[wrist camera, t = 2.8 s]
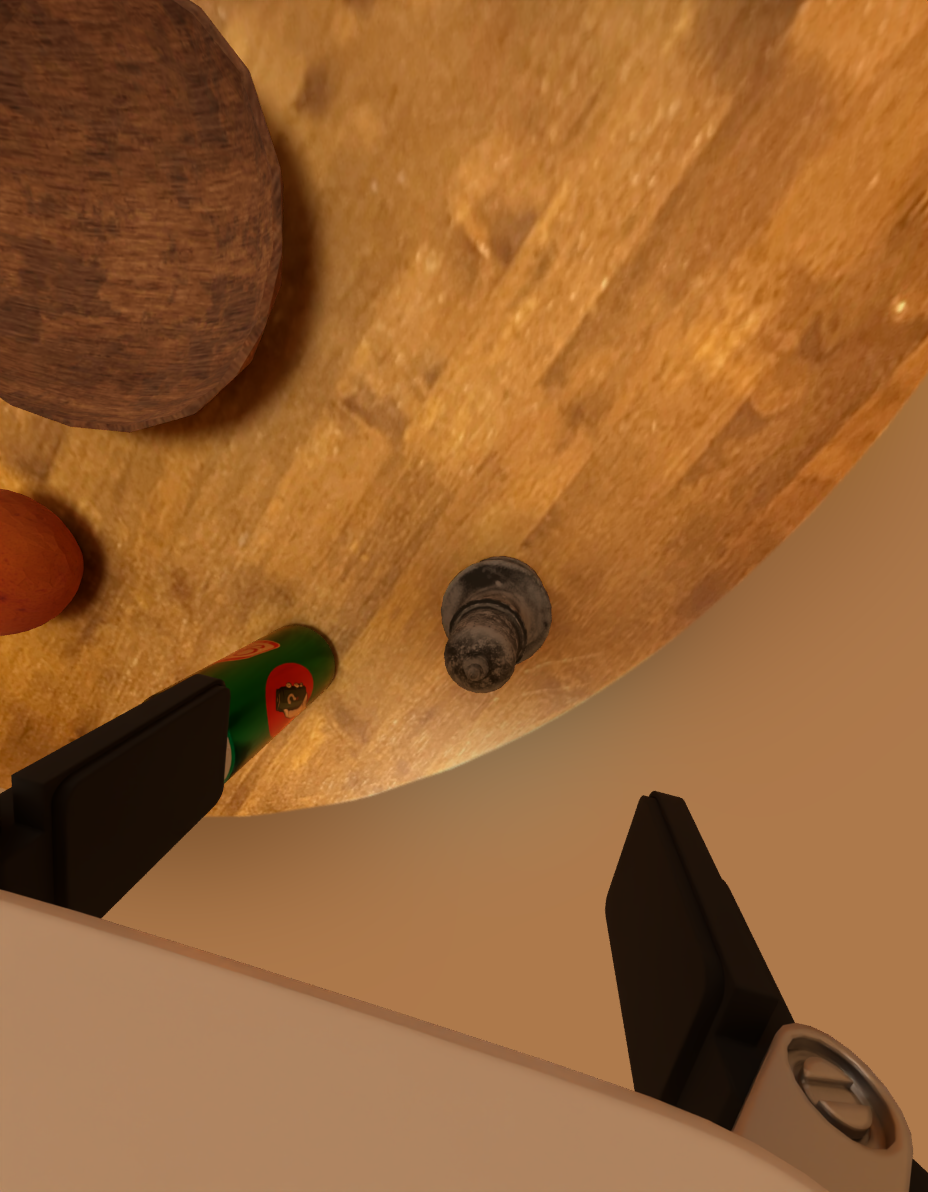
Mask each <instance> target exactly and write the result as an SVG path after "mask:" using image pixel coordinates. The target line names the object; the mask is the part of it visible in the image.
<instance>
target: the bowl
mask: <svg viewBox="0 0 928 1192" xmlns="http://www.w3.org/2000/svg"><path fill="white" fill-rule="evenodd" d="M282 232H283V181H282V175H281V169H280V165H279V162H278V159H277V156H276V153H275V150H274V146H273V143H272V140H271V137H270V134H269V131H268V128H267V125H266V122H265V118H264V115H263V112H262V109H261V106H260V103H259V100H258V97H257V93H256V90H255V87H254V84H253V81H252V78H251V75H250V72H249V70H248V68H247V67H246V66H245V65H244V63H243V62H242V61H241V59H240V58H239V57H238V55H237V54H236V53H235V52H234V50H233V49H232V48H231V46H230V45H229V44H228V42H227V41H226V40H225V38H224V37H223V36H222V35H221V33H220V32H219V31H218V29H217V28H216V27H215V25H214V24H213V23H212V22H211V20H210V19H209V18H208V16H207V15H206V14H205V12H204V11H203V10H202V8H200V7H199V6H197V5H196V4H194V3H193V2H191V1H190V0H0V398H2V399H3V400H5V401H6V402H7V403H9V404H10V405H12V406H15V407H18V408H21V409H23V410H26V411H29V412H32V413H34V414H37V415H40V416H43V417H45V418H48V419H51V420H54V421H57V422H59V423H62V424H65V425H68V426H70V427H81V428H91V429H101V430H111V431H121V432H133V431H136V430H140V429H144V428H147V427H151V426H154V425H158V424H161V423H165V422H168V421H172V420H176V419H179V418H183V417H186V416H190V415H193V414H195V413H197V412H198V411H199V410H200V409H202V408H203V407H204V406H205V405H207V404H208V403H209V402H210V401H211V400H212V399H213V398H214V397H215V396H216V395H217V394H218V393H219V392H220V391H221V390H222V389H223V388H224V387H225V386H227V385H228V384H229V383H230V382H231V381H232V380H233V379H234V378H235V377H236V376H237V375H238V374H239V373H240V372H241V371H242V370H243V369H244V368H245V367H246V366H247V365H249V364H250V363H251V362H252V359H253V357H254V354H255V352H256V349H257V346H258V344H259V341H260V339H261V336H262V334H263V331H264V328H265V326H266V323H267V321H268V318H269V315H270V313H271V310H272V307H273V305H274V302H275V299H276V297H277V294H278V291H279V289H280V286H281V276H282Z"/></svg>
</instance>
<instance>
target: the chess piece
mask: <svg viewBox="0 0 928 1192" xmlns="http://www.w3.org/2000/svg"><path fill="white" fill-rule="evenodd" d="M441 615H442V624H443V627H444V630H445V633H446V636H447V637H448V639H449V640H448V642H447V644H446V646H445V652H444V659H445V666H446V669H447V671H448V674H449V675H450V676H451V678H452V679H453V681H455V682H456V683H457V684H458V685H459V686H460V687H462V688H464V689H466V690H468V691H472V692H475V693H488V692H492V691H495V690H497V689H499V688H501V687H502V686H503V685H504V684H505V683H506V682H507V681H508V680H509V679H510V677H511V676H512V674H513V672H514V668H515V665H516V664H519V663H521V662H522V661H524V660H526V659H528V658H530V657H531V656H532V655H533V654H534V653H535V652H536V651H537V650H538V649H539V648H540V647H541V646H542V644H543V643H544V641H545V639H546V638H547V636H548V633H549V629H550V626H551V622H552V615H551V604H550V600H549V597H548V594H547V592H546V590H545V588H544V587H543V585H542V582H541V580H540V579H539V577H538V575H537V574H536V572H535V571H534V570H532V569H531V568H530V567H529V566H528V565H527V564H525V563H523V562H521V561H519V560H517V559H515V558H510V557H506V556H500V557H491V558H488V559H485V560H482V561H480V562H479V563H476V564H472V565H470V566H469V567H467V568H466V569H464V570H463V571H461V572H460V573H459V574H458V575H457V576H456V577H455V578H454V579H453V580H452V581H451V583H450V584H449V586H448V588H447V590H446V592H445V594H444V596H443V602H442V607H441Z"/></svg>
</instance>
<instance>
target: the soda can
mask: <svg viewBox="0 0 928 1192" xmlns="http://www.w3.org/2000/svg"><path fill="white" fill-rule="evenodd" d="M334 672H335V661H334V656H333V653H332V651H331V649H330V647H329V645H328V644H327V642H326V641H325V640H324V639H323V638H322V637H321V636H320V635H319V634H318V633H316V632H315V631H313V630H311V629H309V628H307V627H303V626H299V625H288V626H284V627H281V628H279V629H277V630H275V631H273V632H271V633H269V634H268V635H266V636H264V637H262V638H260V639H258V640H256V641H254V642H252V643H251V644H249V645H247V646H245V647H243V648H241V649H239V650H237V651H235V652H234V653H232V654H230V655H228V656H226V657H224V658H222V659H220V660H218V661H216V662H215V663H213V664H211V665H209V666H207V667H205V668H203V669H201V670H199V671H198V672H196V673H194V674H192V675H190V676H188V677H186V678H184V679H182V680H181V681H179V682H177V683H175V684H173V685H171V686H169V687H167V688H165V689H164V690H162V691H160V692H158V693H156V694H154V695H152V696H150V697H149V698H148V699H146V700H145V701H144V702H146V701H147V700H149V699H151V698H153V697H155V696H156V695H158V694H160V693H162V692H164V691H166V690H167V689H169V688H171V687H173V686H175V685H176V684H178V683H180V682H182V681H184V680H186V679H187V678H189V677H191V676H193V675H195V674H202V675H206V676H210V677H214V678H218V679H222V680H223V681H224V682H225V685H226V687H227V688H229V689H230V693H231V697H230V710H229V723H228V736H227V749H226V763H225V776H224V783H226V782H227V781H228V780H229V779H230V778H231V777H232V776H233V775H234V774H235V773H236V772H237V771H238V770H240V769H241V768H242V767H243V766H244V765H245V764H246V763H247V762H248V761H249V760H250V759H251V758H253V757H254V756H255V755H256V754H257V753H258V752H259V751H260V750H261V749H262V748H263V747H264V746H265V745H267V744H268V743H269V742H270V741H271V740H272V739H273V738H274V737H275V736H276V735H277V734H278V733H279V732H281V731H282V730H283V729H284V728H285V727H286V726H287V725H288V724H289V723H290V722H291V721H292V720H294V719H295V718H296V717H297V716H298V715H299V714H300V713H301V712H302V711H303V710H304V709H305V708H306V707H308V706H309V705H310V704H311V703H312V702H313V701H314V700H315V699H316V698H317V697H318V696H319V695H320V694H322V693H323V692H324V691H325V690H326V689H327V688H328V686H329V685H330V684H331V682H332V680H333V677H334ZM144 702H143V703H144Z"/></svg>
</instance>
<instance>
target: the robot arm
mask: <svg viewBox="0 0 928 1192" xmlns="http://www.w3.org/2000/svg"><path fill="white" fill-rule="evenodd" d="M230 697H231V693H230V689H229V688H227V687H226V685H225V682H224V681H223V680H222V679H218V678H214V677H210V676H206V675H202V674H195V675H193V676H191V677H189V678H187V679H186V680H184V681H182V682H180V683H178V684H176V685H175V686H173V687H171V688H169V689H167V690H166V691H164V692H162V693H160V694H158V695H156V696H155V697H153V698H151V699H149V700H147V701H146V702H144V703H142V704H140V705H138V706H136V707H135V708H133V709H131V710H129V711H127V712H126V713H124V714H122V715H120V716H118V717H116V718H115V719H113V720H111V721H109V722H107V723H105V724H104V725H102V726H100V727H98V728H96V729H95V730H93V731H91V732H89V733H87V734H85V735H84V736H82V737H80V738H78V739H76V740H75V741H73V742H71V743H69V744H67V745H65V746H64V747H62V748H60V749H58V750H56V751H55V752H53V753H51V754H49V755H47V756H45V757H44V758H42V759H40V760H38V761H36V762H35V763H33V764H31V765H29V766H27V767H25V768H24V769H22V770H20V771H18V772H16V773H15V774H13V775H11V777H12V787H11V788H9V789H7V790H6V791H4V792H2V793H1V794H0V1192H928V1173H927V1172H926V1171H925V1170H924V1169H923V1168H922V1167H921V1166H920V1165H919V1164H918V1163H917V1162H916V1161H915V1160H914V1159H913V1158H912V1157H913V1147H912V1139H911V1132H910V1130H909V1128H908V1125H907V1123H906V1120H905V1118H904V1116H903V1113H902V1111H901V1109H900V1108H899V1107H898V1105H897V1103H896V1102H895V1100H894V1099H893V1097H892V1096H891V1094H890V1093H889V1091H888V1089H887V1088H886V1087H885V1086H884V1084H883V1083H882V1082H881V1081H880V1080H879V1079H878V1077H877V1076H876V1075H875V1074H874V1073H873V1072H872V1070H871V1069H870V1068H869V1067H868V1066H867V1065H866V1064H865V1063H864V1062H862V1061H861V1060H860V1059H859V1058H858V1057H857V1056H856V1055H855V1054H854V1053H853V1052H852V1051H851V1050H849V1049H848V1048H846V1047H845V1046H843V1044H841V1043H840V1042H838V1041H837V1040H835V1039H834V1038H833V1037H831V1036H829V1035H828V1034H826V1033H824V1032H822V1031H820V1030H817V1029H815V1028H813V1027H811V1026H807V1025H802V1024H798V1023H795V1022H794V1020H793V1018H792V1016H791V1014H790V1012H789V1010H788V1008H787V1006H786V1004H785V1001H784V999H783V997H782V995H781V993H780V991H779V989H778V987H777V985H776V983H775V981H774V979H773V977H772V975H771V973H770V971H769V969H768V967H767V965H766V962H765V960H764V958H763V956H762V955H761V952H760V950H759V948H758V946H757V944H756V942H755V940H754V938H753V936H752V934H751V932H750V930H749V928H748V926H747V924H746V922H745V919H744V917H743V915H742V913H741V911H740V909H739V907H738V905H737V903H736V901H735V899H734V897H733V895H732V893H731V891H730V889H729V887H728V885H727V884H726V882H725V881H724V880H722V878H721V876H720V874H719V872H718V870H717V868H716V866H715V864H714V862H713V860H712V858H711V855H710V853H709V851H708V849H707V847H706V845H705V843H704V841H703V839H702V837H701V835H700V833H699V831H698V828H697V826H696V824H695V822H694V820H693V818H692V816H691V814H690V812H689V810H688V807H687V805H686V803H685V801H684V800H683V799H682V798H680V797H676V796H672V795H669V794H665V793H661V792H657V791H653V792H651V794H650V795H649V797H648V796H644V795H643V796H642V797H641V798H640V800H639V803H638V805H637V809H636V811H635V815H634V817H633V820H632V824H631V826H630V829H629V832H628V835H627V838H626V841H625V844H624V847H623V850H622V853H621V856H620V859H619V862H618V865H617V868H616V871H615V874H614V877H613V879H612V882H611V885H610V888H609V891H608V894H607V898H606V906H605V914H606V921H607V927H608V933H609V939H610V945H611V951H612V957H613V963H614V969H615V975H616V981H617V987H618V993H619V999H620V1005H621V1011H622V1017H623V1023H624V1029H625V1035H626V1041H627V1047H628V1053H629V1059H630V1065H631V1071H632V1077H633V1083H634V1089H635V1091H632V1090H629V1089H627V1088H624V1087H621V1086H618V1085H615V1084H612V1083H609V1082H606V1081H603V1080H601V1079H598V1078H595V1077H592V1076H589V1075H586V1074H583V1073H580V1072H577V1071H575V1070H571V1069H569V1068H566V1067H563V1066H560V1065H557V1064H554V1063H552V1062H549V1061H546V1060H543V1059H540V1058H537V1057H534V1056H530V1055H527V1054H524V1053H521V1052H518V1051H515V1050H512V1049H509V1048H505V1047H503V1046H500V1045H497V1044H494V1043H490V1042H487V1041H484V1040H481V1039H478V1038H475V1037H472V1036H469V1035H466V1034H463V1033H460V1032H457V1031H454V1030H450V1029H447V1028H444V1027H441V1026H438V1025H435V1024H432V1023H429V1022H426V1021H423V1020H420V1019H417V1018H413V1017H410V1016H407V1015H404V1014H401V1013H398V1012H395V1011H392V1010H389V1009H386V1008H383V1007H379V1006H376V1005H373V1004H370V1003H367V1002H364V1001H361V1000H358V999H355V998H351V997H348V996H345V995H342V994H339V993H336V992H333V991H329V990H326V989H323V988H320V987H317V986H314V985H310V984H307V983H304V982H301V981H298V980H295V979H292V978H288V977H285V976H282V975H279V974H276V973H273V972H270V971H266V970H263V969H260V968H257V967H254V966H250V965H247V964H244V963H241V962H238V961H235V960H232V959H229V958H225V957H222V956H219V955H216V954H213V953H210V952H206V951H203V950H199V949H197V948H193V947H190V946H187V945H184V944H180V943H177V942H174V941H171V940H168V939H164V938H161V937H157V936H155V935H151V934H148V933H145V932H142V931H139V930H135V929H132V928H129V927H126V926H123V925H119V924H116V923H113V922H110V921H106V920H103V919H101V918H102V917H103V916H104V915H105V914H106V913H107V912H108V911H109V910H110V909H111V908H112V907H113V906H114V905H115V904H116V903H117V902H118V901H119V900H120V899H121V898H122V897H123V896H124V895H125V894H126V893H127V892H128V891H129V890H130V889H131V888H132V887H133V886H134V885H135V884H136V883H137V882H138V881H139V880H140V879H141V878H142V877H143V876H144V875H145V874H146V873H147V872H148V871H149V870H150V869H151V868H152V867H153V866H154V865H155V864H156V863H157V862H158V861H159V860H160V859H161V858H162V857H163V856H164V855H165V854H166V853H167V852H168V851H169V850H170V849H171V848H172V847H173V846H174V845H175V844H176V843H178V841H180V840H181V838H182V837H184V835H186V833H187V832H189V831H190V830H191V829H192V828H193V827H194V826H195V825H196V824H197V823H198V821H200V820H201V819H202V818H203V817H204V816H205V815H206V814H207V813H208V812H209V811H210V810H211V809H212V808H213V807H214V806H215V805H216V803H217V802H218V800H219V799H220V797H221V795H222V792H223V788H224V776H225V763H226V749H227V736H228V723H229V710H230Z"/></svg>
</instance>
